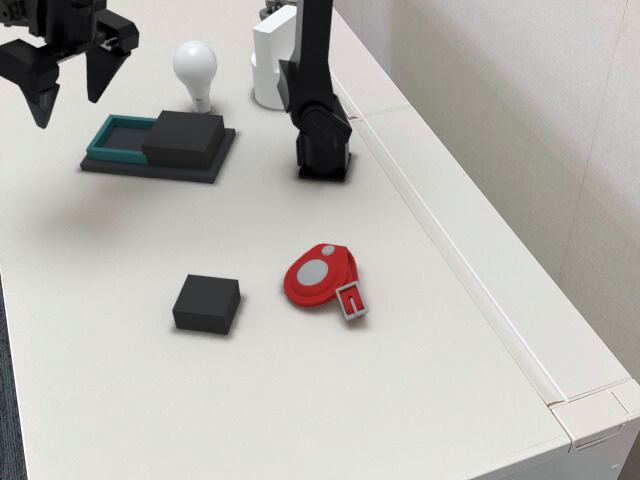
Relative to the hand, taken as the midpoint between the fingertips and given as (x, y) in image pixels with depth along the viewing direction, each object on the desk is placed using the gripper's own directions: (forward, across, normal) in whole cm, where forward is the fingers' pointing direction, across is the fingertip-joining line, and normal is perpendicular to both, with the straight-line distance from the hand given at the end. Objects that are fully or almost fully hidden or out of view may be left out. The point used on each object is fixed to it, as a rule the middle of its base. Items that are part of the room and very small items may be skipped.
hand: (67, 114), depth 93 cm
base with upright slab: (+4, -36, +12) cm, 38 cm away
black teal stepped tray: (+10, -15, +4) cm, 19 cm away
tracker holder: (+5, +1, +38) cm, 39 cm away
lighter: (+4, -46, +7) cm, 47 cm away
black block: (+9, +9, +27) cm, 30 cm away
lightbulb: (+8, -27, +4) cm, 28 cm away
